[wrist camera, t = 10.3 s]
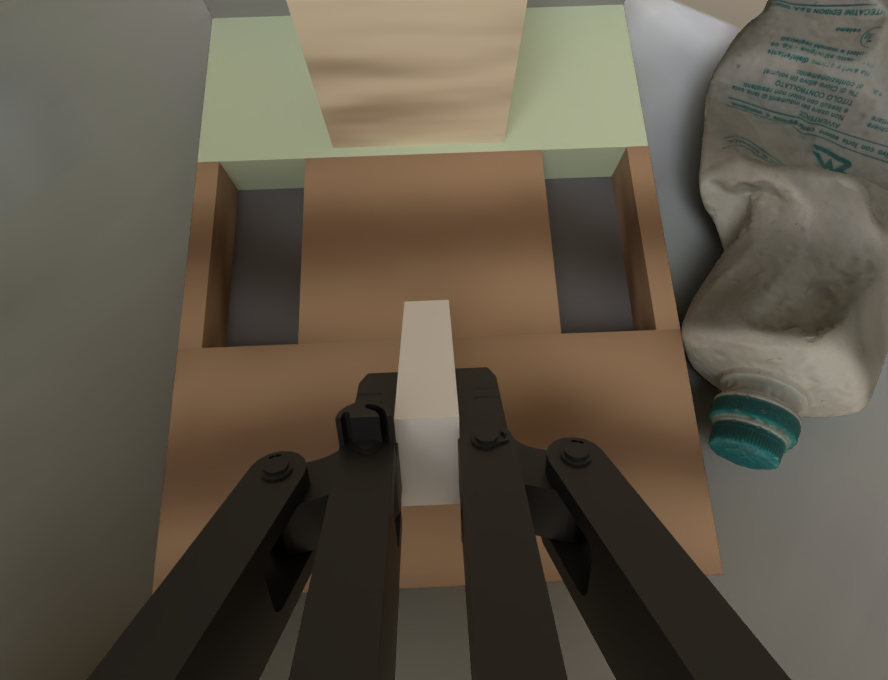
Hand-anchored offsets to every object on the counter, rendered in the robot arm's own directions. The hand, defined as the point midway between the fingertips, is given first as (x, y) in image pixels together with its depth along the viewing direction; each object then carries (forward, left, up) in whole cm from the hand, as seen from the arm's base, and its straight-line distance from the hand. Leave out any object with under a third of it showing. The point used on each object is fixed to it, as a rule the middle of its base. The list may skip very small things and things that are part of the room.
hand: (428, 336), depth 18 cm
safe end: (-10, +10, -7) cm, 16 cm away
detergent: (+8, +17, -7) cm, 20 cm away
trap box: (-1, +1, -7) cm, 7 cm away
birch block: (-10, +10, -4) cm, 15 cm away
